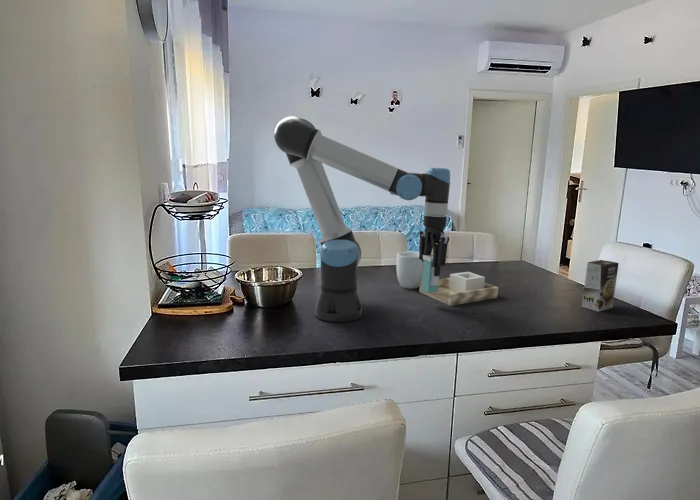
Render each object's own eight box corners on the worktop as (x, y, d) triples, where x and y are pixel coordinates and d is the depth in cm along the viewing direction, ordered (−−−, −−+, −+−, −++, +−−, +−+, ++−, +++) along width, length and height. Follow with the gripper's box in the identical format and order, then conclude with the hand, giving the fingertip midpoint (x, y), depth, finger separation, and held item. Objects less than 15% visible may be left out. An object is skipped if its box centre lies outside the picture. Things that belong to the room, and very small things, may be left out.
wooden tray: (450, 305, 163) (450, 294, 163) (419, 292, 179) (419, 281, 178) (497, 297, 173) (498, 287, 173) (464, 285, 189) (465, 275, 188)
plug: (428, 292, 159) (430, 258, 157) (420, 289, 163) (423, 255, 161) (438, 291, 161) (441, 257, 159) (430, 288, 165) (433, 254, 163)
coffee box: (599, 312, 159) (605, 265, 156) (581, 307, 165) (586, 261, 161) (613, 307, 164) (619, 262, 161) (595, 302, 169) (601, 258, 166)
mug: (415, 280, 196) (417, 249, 194) (436, 285, 188) (437, 253, 185) (389, 285, 187) (390, 253, 184) (410, 292, 179) (411, 258, 176)
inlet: (465, 295, 172) (466, 279, 171) (449, 289, 180) (450, 274, 178) (483, 292, 176) (485, 277, 175) (467, 286, 184) (468, 271, 183)
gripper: (461, 218, 151) (454, 288, 156) (429, 211, 166) (424, 276, 171) (442, 219, 148) (436, 291, 153) (411, 212, 163) (406, 277, 167)
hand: (429, 282), depth 162 cm, fingers closed on plug, 4 cm apart
